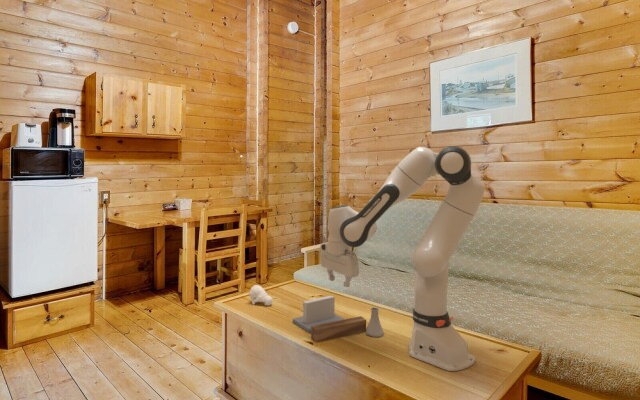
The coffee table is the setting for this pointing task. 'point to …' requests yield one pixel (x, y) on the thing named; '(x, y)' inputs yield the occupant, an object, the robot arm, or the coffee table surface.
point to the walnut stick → (338, 329)
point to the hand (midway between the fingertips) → (339, 283)
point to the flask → (374, 324)
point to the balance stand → (317, 313)
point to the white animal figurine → (259, 295)
